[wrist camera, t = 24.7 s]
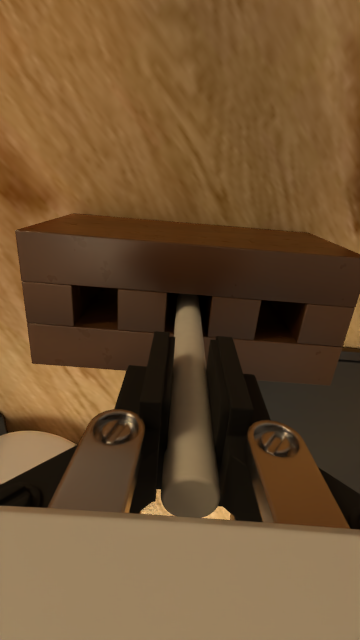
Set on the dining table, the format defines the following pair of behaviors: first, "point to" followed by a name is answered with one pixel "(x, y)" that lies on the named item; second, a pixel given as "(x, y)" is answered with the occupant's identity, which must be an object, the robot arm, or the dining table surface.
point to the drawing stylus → (189, 422)
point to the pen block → (186, 278)
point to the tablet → (324, 417)
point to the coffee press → (27, 450)
